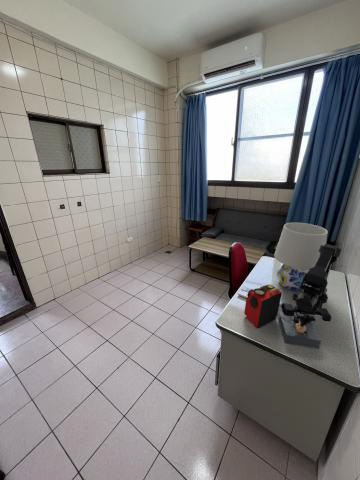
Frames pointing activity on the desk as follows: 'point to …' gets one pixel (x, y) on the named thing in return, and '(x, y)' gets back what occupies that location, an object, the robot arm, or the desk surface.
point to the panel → (295, 338)
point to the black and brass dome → (295, 318)
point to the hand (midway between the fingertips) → (301, 326)
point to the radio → (262, 305)
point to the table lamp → (298, 252)
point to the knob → (300, 328)
